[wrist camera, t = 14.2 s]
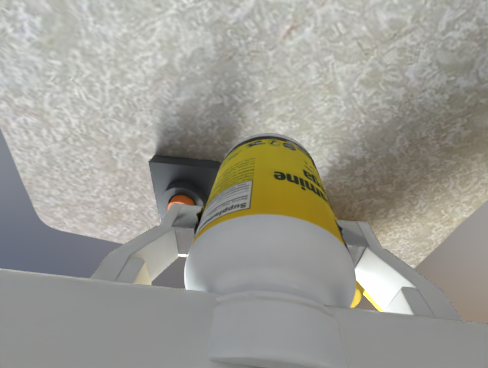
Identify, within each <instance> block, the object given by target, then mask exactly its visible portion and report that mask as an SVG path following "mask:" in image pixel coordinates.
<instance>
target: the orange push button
mask: <svg viewBox="0 0 488 368" xmlns="http://www.w3.org/2000/svg"><path fill="white" fill-rule="evenodd" d="M173 203H177V204H187V205H194V202H193V200H192V199H191V198H190V197H188V196H186V195H176V196H174V197H173V198H172V200H171V201H170V203H169V205H168V208H167V209H168V210H169V208H170V206H171V205H172V204H173Z"/></svg>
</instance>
